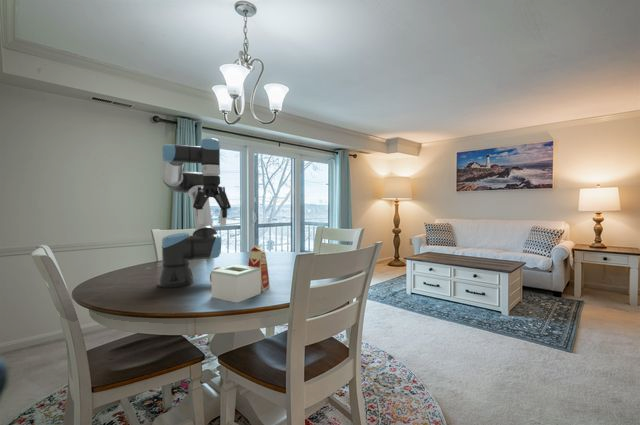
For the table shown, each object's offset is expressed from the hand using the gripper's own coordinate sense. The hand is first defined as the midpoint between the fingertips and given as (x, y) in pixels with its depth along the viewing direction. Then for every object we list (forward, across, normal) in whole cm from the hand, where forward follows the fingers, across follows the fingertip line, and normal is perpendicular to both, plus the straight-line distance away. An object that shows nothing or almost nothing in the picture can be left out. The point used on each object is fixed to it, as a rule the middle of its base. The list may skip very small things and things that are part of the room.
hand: (211, 225), depth 144 cm
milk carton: (+29, +14, +13) cm, 35 cm away
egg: (+29, -4, +7) cm, 30 cm away
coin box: (+29, +14, 0) cm, 32 cm away
